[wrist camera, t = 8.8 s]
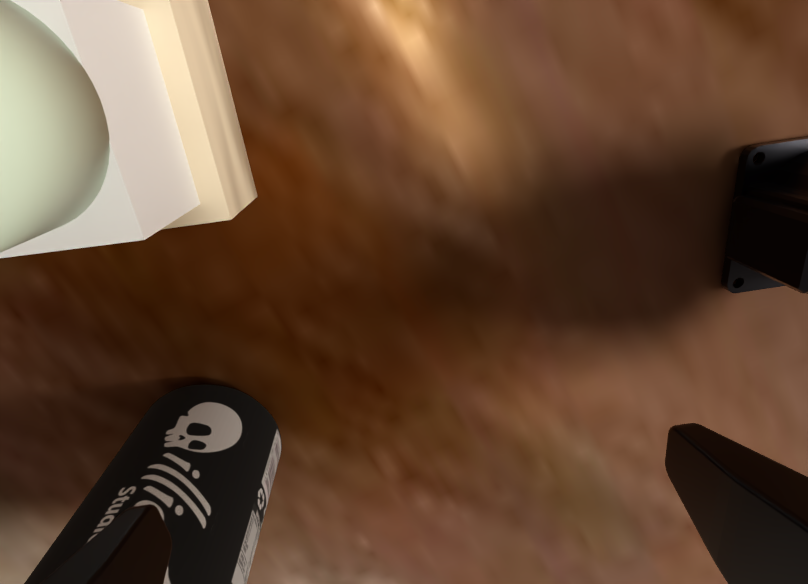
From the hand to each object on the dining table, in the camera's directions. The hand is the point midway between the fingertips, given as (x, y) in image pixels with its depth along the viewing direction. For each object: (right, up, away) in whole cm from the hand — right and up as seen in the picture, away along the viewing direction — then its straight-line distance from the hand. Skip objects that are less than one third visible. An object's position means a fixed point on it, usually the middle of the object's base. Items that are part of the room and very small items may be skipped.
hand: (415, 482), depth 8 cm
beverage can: (-9, -3, +15) cm, 18 cm away
